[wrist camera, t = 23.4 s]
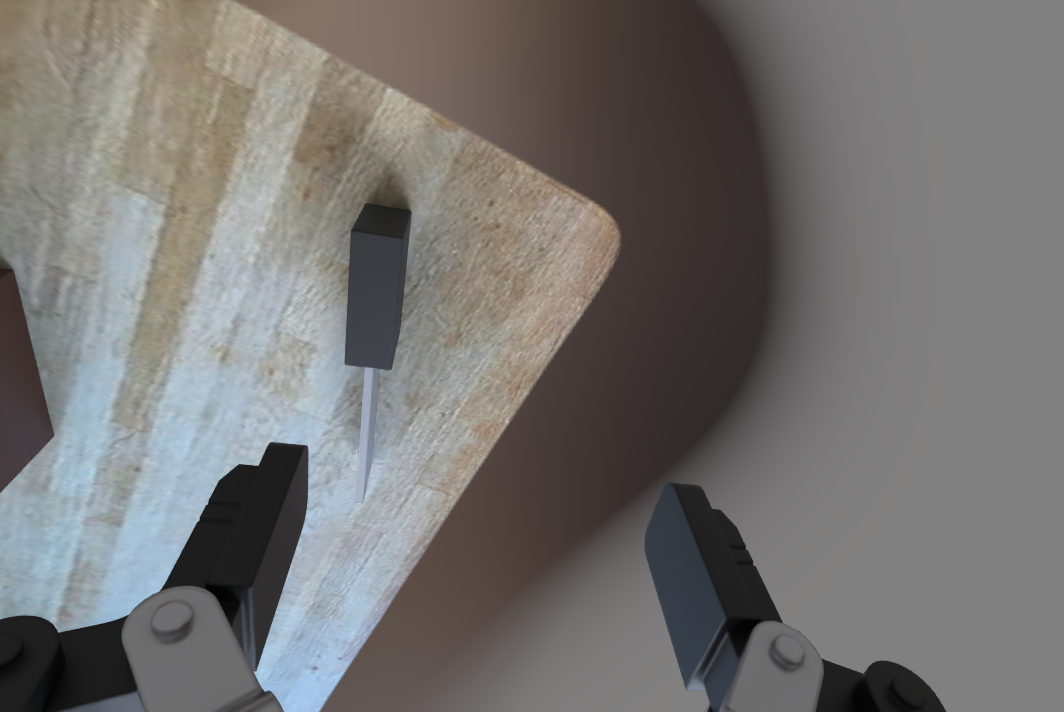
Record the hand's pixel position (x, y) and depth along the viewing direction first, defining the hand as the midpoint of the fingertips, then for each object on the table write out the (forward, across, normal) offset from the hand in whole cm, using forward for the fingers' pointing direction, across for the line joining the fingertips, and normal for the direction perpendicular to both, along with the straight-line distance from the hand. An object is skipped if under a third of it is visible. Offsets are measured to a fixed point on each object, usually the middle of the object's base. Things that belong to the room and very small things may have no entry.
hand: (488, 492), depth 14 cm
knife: (+24, +5, +11) cm, 27 cm away
